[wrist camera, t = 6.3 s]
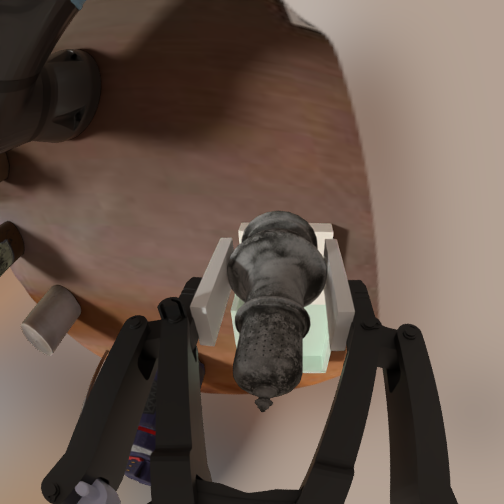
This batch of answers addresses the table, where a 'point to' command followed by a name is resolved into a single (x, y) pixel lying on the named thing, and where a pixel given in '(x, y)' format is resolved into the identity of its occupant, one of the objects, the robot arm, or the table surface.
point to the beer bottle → (4, 166)
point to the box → (314, 341)
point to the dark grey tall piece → (274, 302)
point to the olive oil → (9, 245)
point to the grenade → (147, 437)
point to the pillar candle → (51, 319)
